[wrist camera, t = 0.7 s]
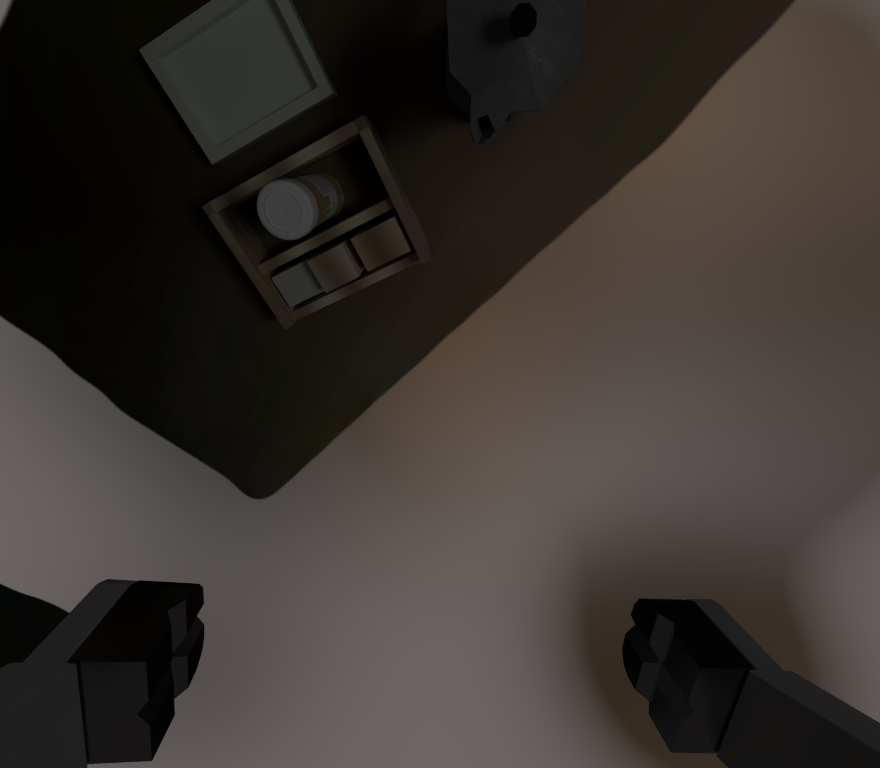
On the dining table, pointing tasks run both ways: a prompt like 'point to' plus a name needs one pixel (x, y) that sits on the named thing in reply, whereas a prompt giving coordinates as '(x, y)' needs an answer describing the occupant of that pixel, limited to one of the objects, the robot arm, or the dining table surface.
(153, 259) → the dining table surface
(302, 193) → the sprinkles bottle
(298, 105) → the tray
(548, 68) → the coffeepot
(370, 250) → the offcut oak
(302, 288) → the offcut grey
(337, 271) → the offcut pine
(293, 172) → the rack
